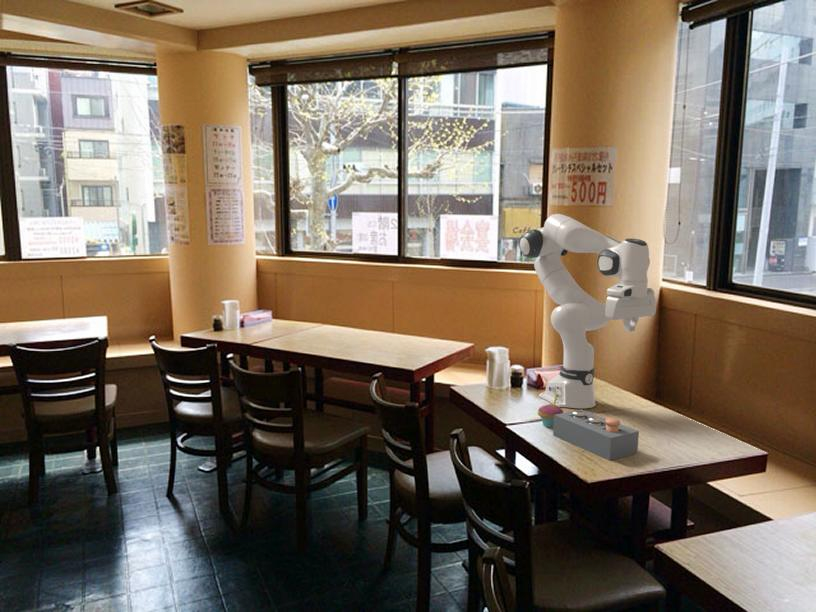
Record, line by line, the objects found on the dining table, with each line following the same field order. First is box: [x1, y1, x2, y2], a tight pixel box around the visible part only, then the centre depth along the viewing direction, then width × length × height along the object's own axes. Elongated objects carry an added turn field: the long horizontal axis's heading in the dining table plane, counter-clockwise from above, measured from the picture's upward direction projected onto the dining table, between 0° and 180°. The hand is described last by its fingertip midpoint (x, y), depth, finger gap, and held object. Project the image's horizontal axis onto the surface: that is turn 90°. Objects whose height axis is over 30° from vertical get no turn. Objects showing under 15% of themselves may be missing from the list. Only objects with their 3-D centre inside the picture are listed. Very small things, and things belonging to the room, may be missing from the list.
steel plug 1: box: [572, 409, 586, 419], centre depth 208 cm, size 4×4×8 cm
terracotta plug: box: [605, 418, 621, 433], centre depth 196 cm, size 4×4×8 cm
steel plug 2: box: [588, 416, 602, 426], centre depth 202 cm, size 4×4×8 cm
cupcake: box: [537, 391, 564, 428], centre depth 219 cm, size 9×8×12 cm
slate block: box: [552, 409, 640, 461], centre depth 202 cm, size 24×12×7 cm, turn 30°
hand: (629, 331), depth 210 cm, fingers closed
